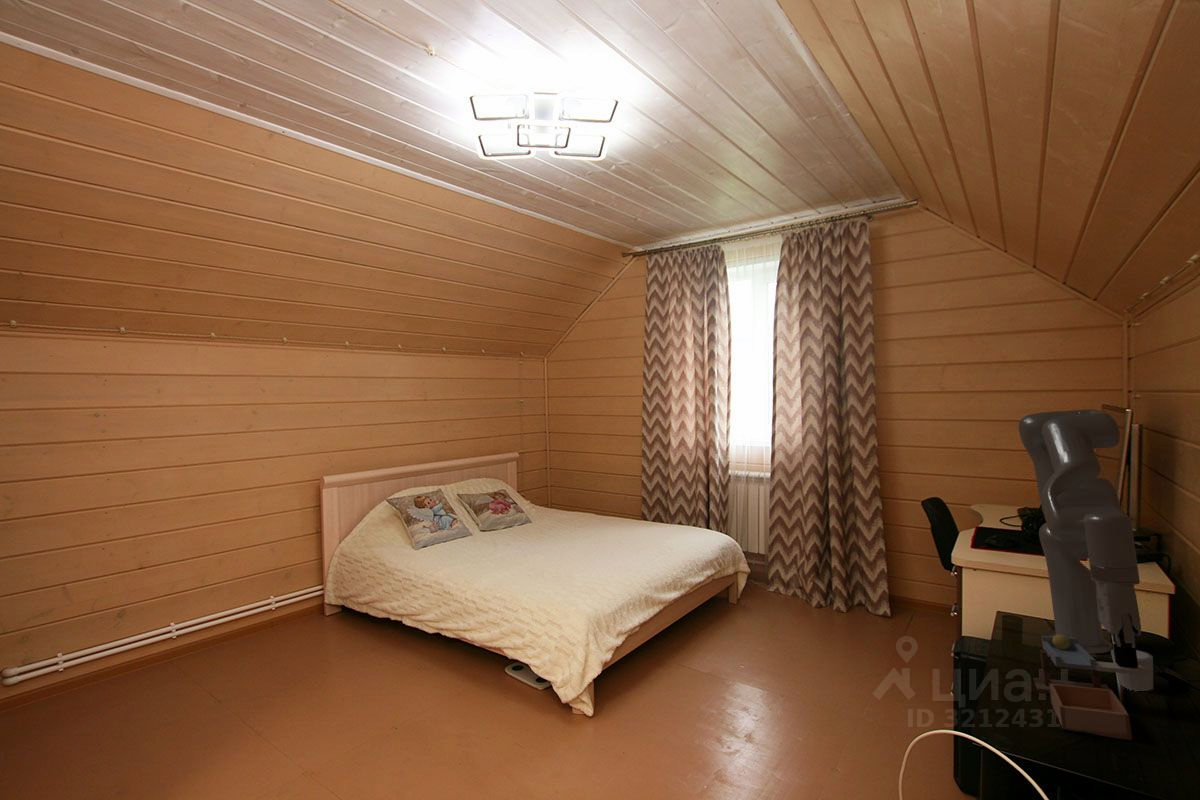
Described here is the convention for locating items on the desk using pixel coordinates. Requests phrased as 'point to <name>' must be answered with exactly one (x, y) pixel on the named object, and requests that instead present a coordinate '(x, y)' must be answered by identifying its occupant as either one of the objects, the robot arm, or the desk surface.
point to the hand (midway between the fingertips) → (1126, 665)
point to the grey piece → (1083, 658)
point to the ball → (1061, 642)
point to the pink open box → (1090, 711)
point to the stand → (1043, 684)
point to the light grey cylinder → (1135, 680)
